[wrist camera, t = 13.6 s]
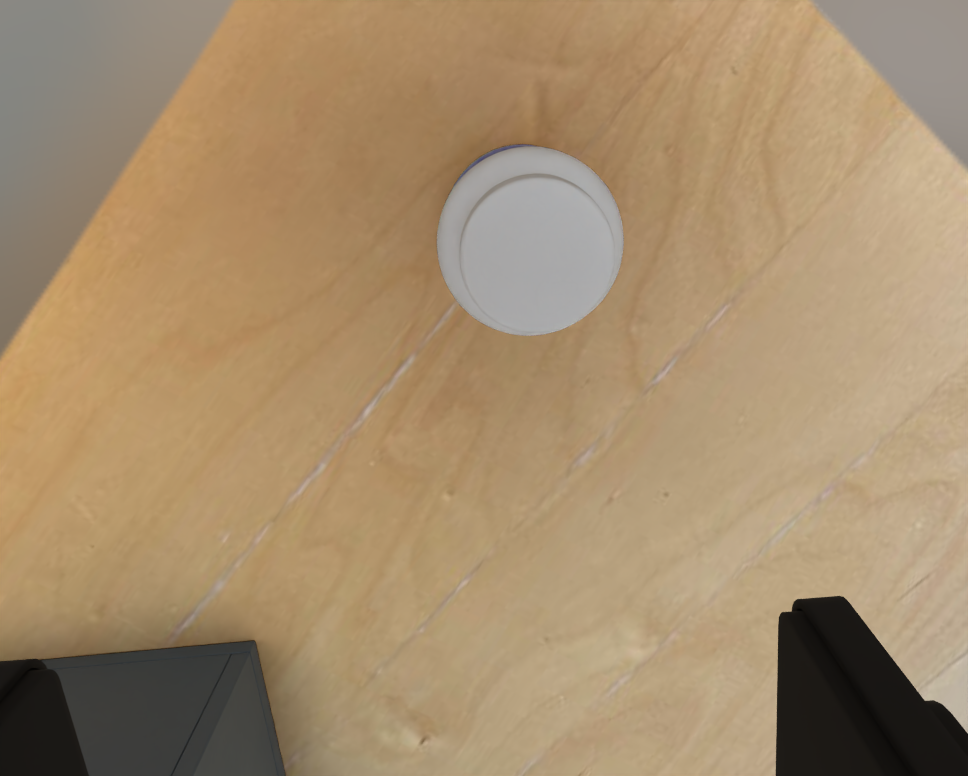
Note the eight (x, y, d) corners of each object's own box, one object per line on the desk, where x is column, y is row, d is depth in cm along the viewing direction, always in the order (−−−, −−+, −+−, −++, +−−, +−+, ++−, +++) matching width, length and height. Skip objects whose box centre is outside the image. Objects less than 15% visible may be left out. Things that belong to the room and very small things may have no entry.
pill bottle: (419, 244, 30) (387, 293, 20) (497, 113, 28) (500, 102, 19) (541, 320, 31) (564, 400, 21) (623, 196, 29) (685, 225, 20)
